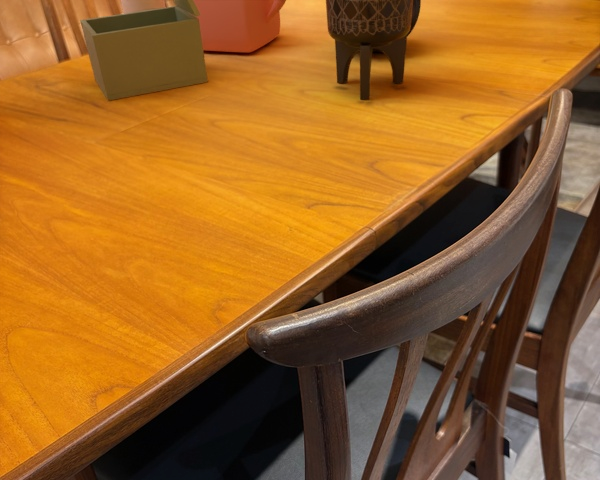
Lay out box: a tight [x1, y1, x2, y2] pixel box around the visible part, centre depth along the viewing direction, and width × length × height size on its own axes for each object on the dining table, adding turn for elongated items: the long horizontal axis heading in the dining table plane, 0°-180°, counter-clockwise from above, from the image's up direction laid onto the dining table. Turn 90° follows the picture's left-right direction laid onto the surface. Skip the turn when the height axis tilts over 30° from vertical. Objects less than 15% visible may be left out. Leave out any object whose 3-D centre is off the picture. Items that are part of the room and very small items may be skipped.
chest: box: [79, 5, 209, 101], centre depth 101 cm, size 17×13×10 cm
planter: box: [325, 0, 413, 101], centre depth 90 cm, size 13×13×18 cm
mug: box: [120, 0, 167, 14], centre depth 118 cm, size 12×8×12 cm
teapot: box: [190, 0, 287, 53], centre depth 118 cm, size 20×22×14 cm
